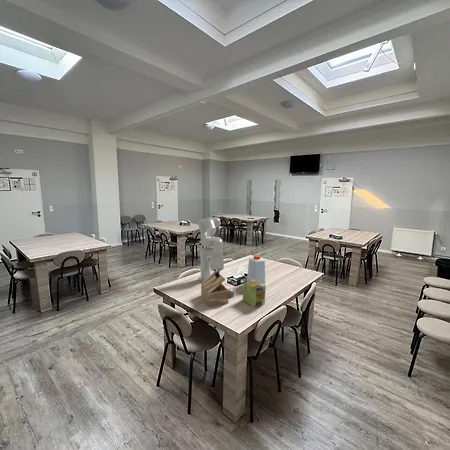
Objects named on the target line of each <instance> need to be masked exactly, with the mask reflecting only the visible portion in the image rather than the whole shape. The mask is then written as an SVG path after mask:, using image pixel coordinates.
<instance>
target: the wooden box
mask: <svg viewBox="0 0 450 450" xmlns="http://www.w3.org/2000/svg"><path fill="white" fill-rule="evenodd" d="M200 286H201V287H200V288H201V289H200V294H201V297H202V298H203V301H204V302H206V304H207V306H208V307H214V306H220V305H226V304H229V297H228V296H229V290H228V289H229V288H227V287H226V286H225V285H224V284H223V282H222V283H221V284H220V285H219V286H218V287H216V288H215V289H214V290H213V291H212V292H210V293H209V292H208V291H207V290H206V289H205V287H204V286H203V285H202V284H200Z"/></svg>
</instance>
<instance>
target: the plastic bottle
mask: <svg viewBox="0 0 450 450" xmlns="http://www.w3.org/2000/svg"><path fill="white" fill-rule="evenodd" d="M252 279H253V280H255V281H258V282H260V283H262V284H264V285H266V261H265V259H264V258H263V257H261V255H259V254H256V255H255V254H254V255H253V257H249V259H248V265H247V277H246V281H249V280H252Z"/></svg>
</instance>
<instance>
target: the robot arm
mask: <svg viewBox="0 0 450 450" xmlns="http://www.w3.org/2000/svg"><path fill="white" fill-rule="evenodd" d="M197 223H198V224H197V225H198V229H199V232H200V244H201V246H202V247H204V248H201V249H200V250H199V257H200V277H199V278H198V280H199V282H200V283H201V282H203V281H204V280H205V279H206V278H208V277H209V276H210V275H211V271H212V272H213V273H214V272H215V276H216V277H219V274H220V272H221V271H223V270H224V269H225V268H224V267H225V265H224V264H225V263H224V262H225V260H224V252H223V240H222V238H221V237H219V236H213V235H215V234H216V232H217V228H219V227H220V226H221V220H220V218H219V217H215V216H214V217H205V218H201V219H199V220H198V222H197Z"/></svg>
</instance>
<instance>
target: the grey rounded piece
mask: <svg viewBox="0 0 450 450" xmlns="http://www.w3.org/2000/svg"><path fill="white" fill-rule="evenodd" d="M227 289H228V290H229V296H228V298H234V297H235V295H236V294H235V293H236V292H235V291H236V290H235V289H234V288H227Z"/></svg>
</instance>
